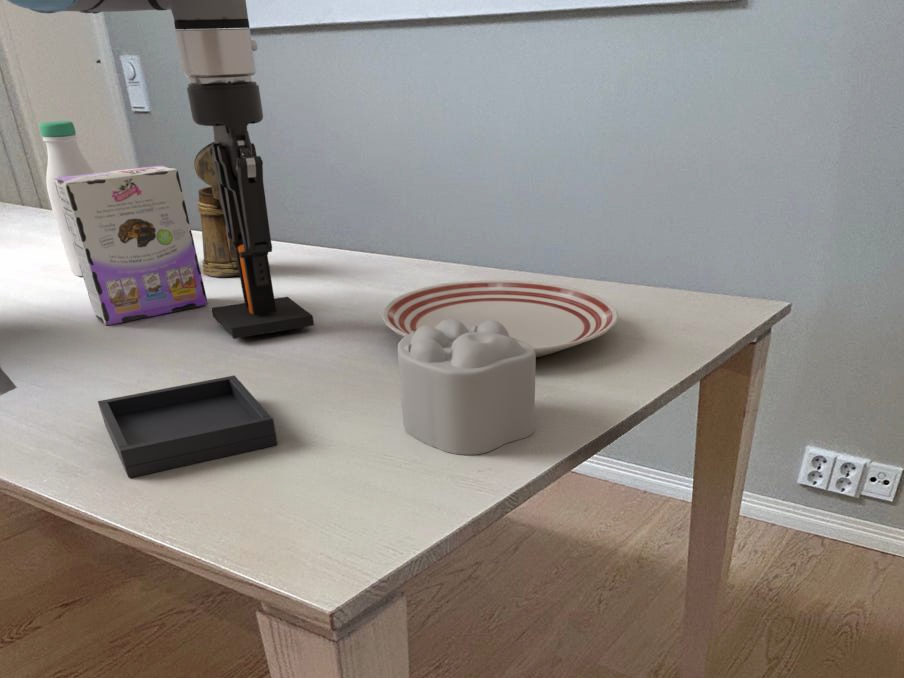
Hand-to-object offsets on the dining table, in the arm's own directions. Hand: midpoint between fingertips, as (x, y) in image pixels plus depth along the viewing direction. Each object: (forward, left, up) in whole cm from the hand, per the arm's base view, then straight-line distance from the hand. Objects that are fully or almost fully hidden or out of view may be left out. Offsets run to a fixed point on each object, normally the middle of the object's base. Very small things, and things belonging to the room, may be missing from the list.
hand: (260, 308), depth 102 cm
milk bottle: (-44, -14, -3) cm, 46 cm away
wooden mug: (-30, +4, -3) cm, 30 cm away
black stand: (0, 0, -2) cm, 2 cm away
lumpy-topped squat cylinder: (+40, +7, -3) cm, 41 cm away
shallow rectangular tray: (+29, -16, -2) cm, 33 cm away
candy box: (-16, -11, -3) cm, 19 cm away
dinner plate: (+19, +23, -3) cm, 30 cm away
